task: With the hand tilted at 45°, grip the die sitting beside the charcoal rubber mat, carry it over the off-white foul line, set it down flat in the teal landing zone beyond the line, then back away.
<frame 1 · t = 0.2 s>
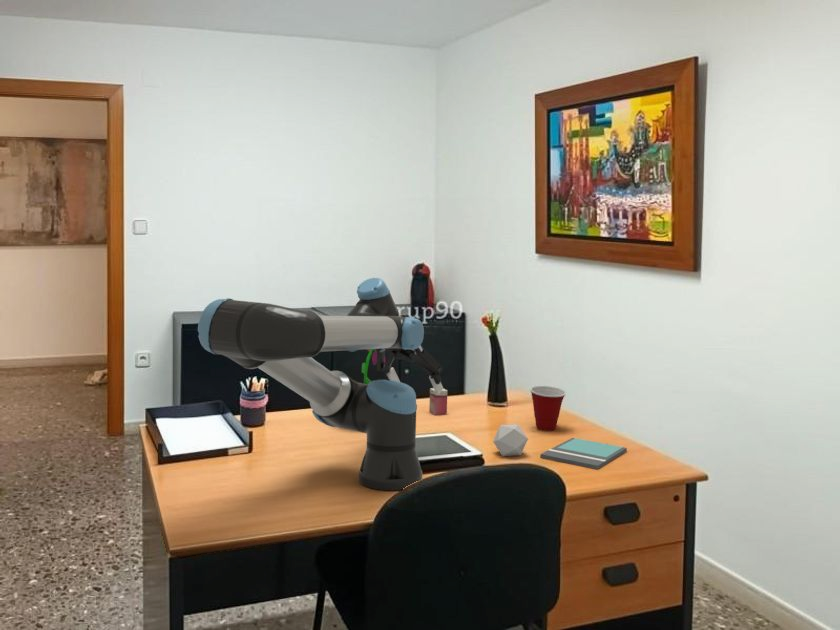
hand: (418, 389, 222), 15 cm above the table, tool tilted 35°, fingers open, 13 cm apart
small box: (438, 413, 260), on the table
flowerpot: (365, 425, 244), on the table
die: (509, 454, 216), on the table
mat: (584, 454, 217), on the table
plastic cup: (546, 429, 243), on the table
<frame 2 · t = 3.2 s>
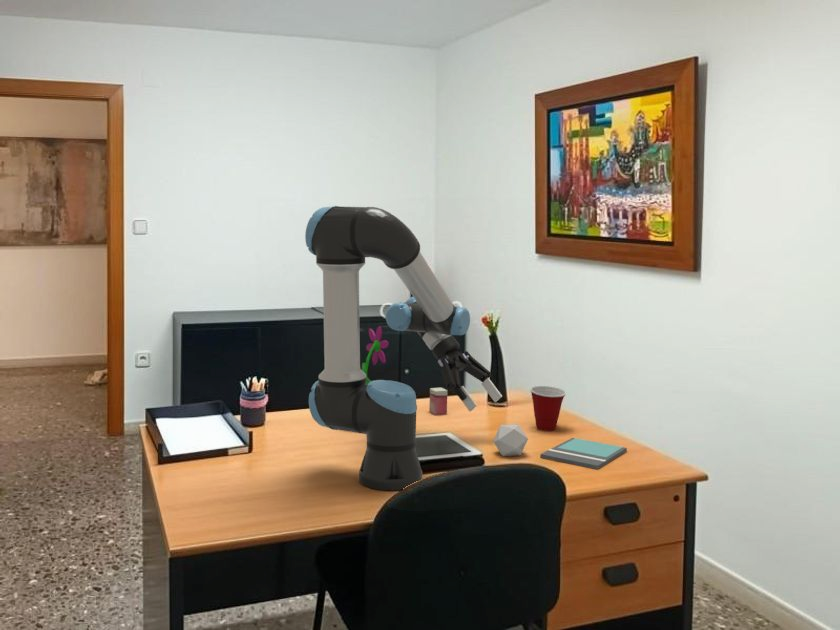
hand: (486, 403, 221), 12 cm above the table, tool tilted 45°, fingers open, 13 cm apart
nothing on the table moved.
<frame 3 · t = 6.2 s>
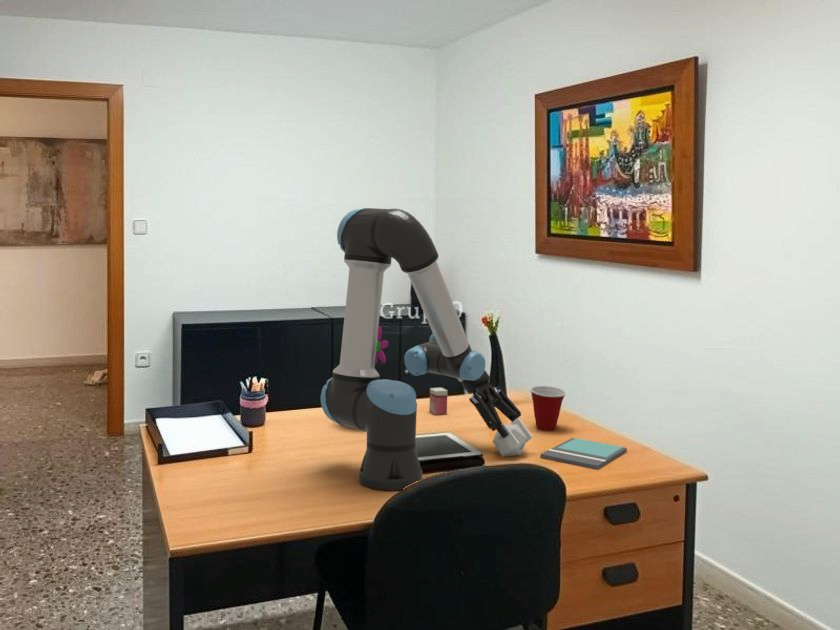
hand: (522, 442, 214), 4 cm above the table, tool tilted 45°, fingers closed on die, 7 cm apart
die: (509, 454, 216), on the table, touching gripper
everything else where it was.
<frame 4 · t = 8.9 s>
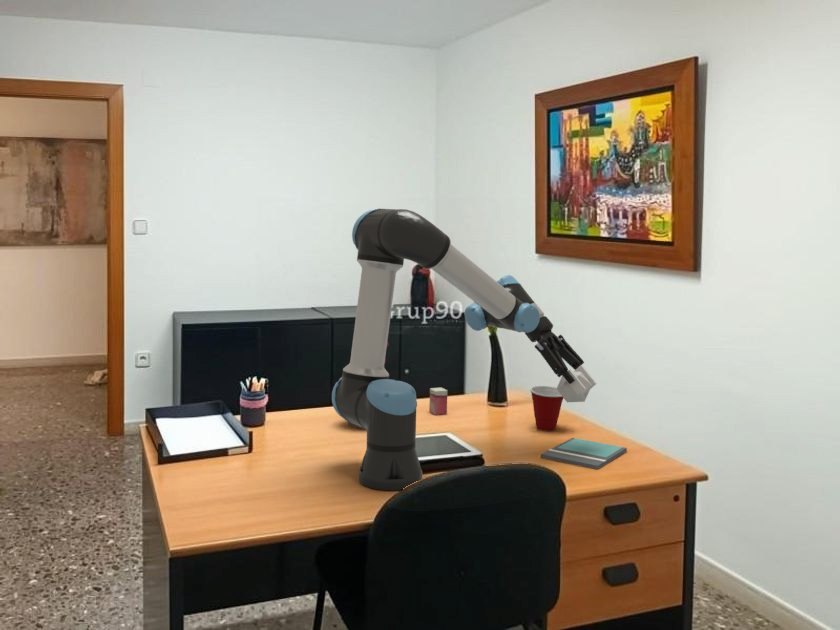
hand: (587, 389, 216), 18 cm above the table, tool tilted 45°, fingers closed on die, 7 cm apart
die: (573, 401, 218), point 14 cm above the table, touching gripper
everything else where it was.
when the fingers open (6 cm above the table, at t = 11.6 s): die drops 1 cm, resting on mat.
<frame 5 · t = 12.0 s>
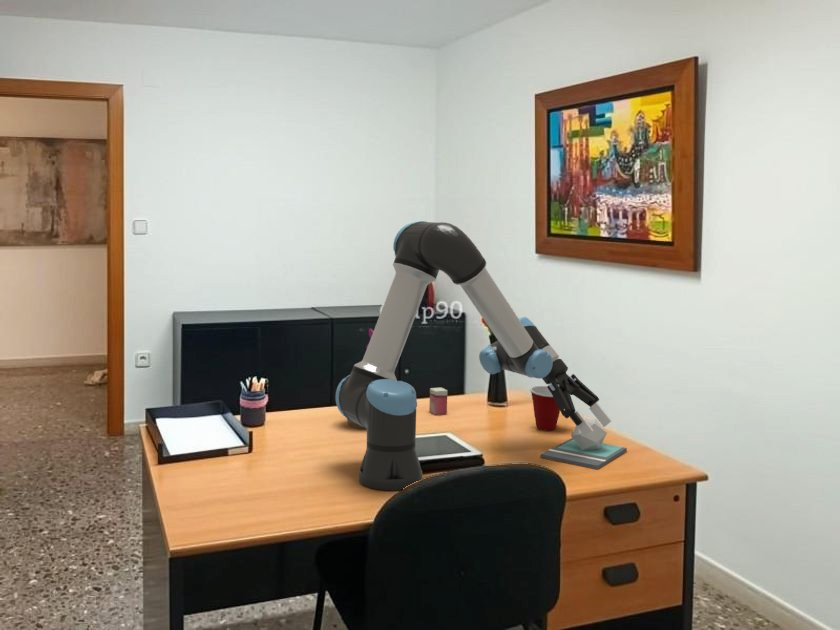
hand: (598, 428, 217), 7 cm above the table, tool tilted 45°, fingers open, 12 cm apart
die: (588, 449, 219), point 1 cm above the table, touching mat
everything else where it was.
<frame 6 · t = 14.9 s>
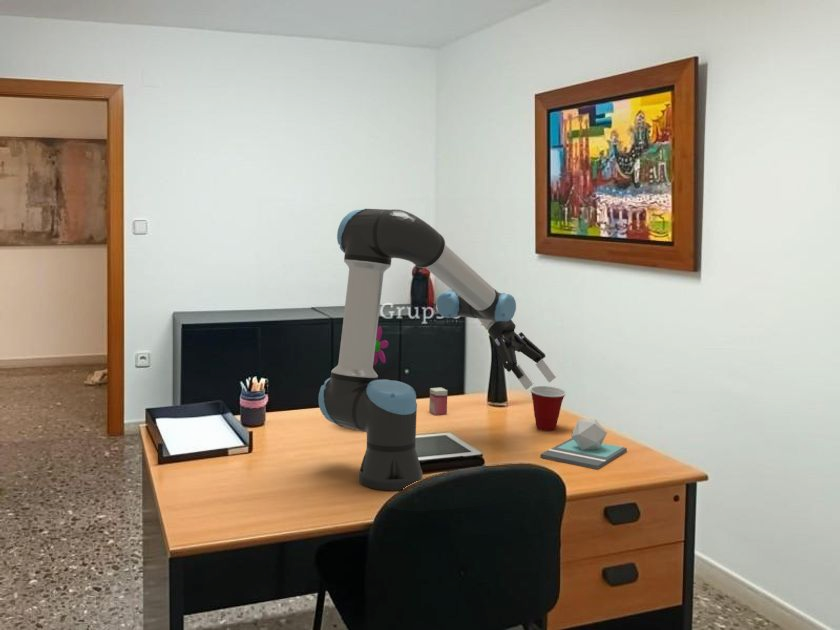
hand: (541, 383, 224), 17 cm above the table, tool tilted 45°, fingers open, 13 cm apart
nothing on the table moved.
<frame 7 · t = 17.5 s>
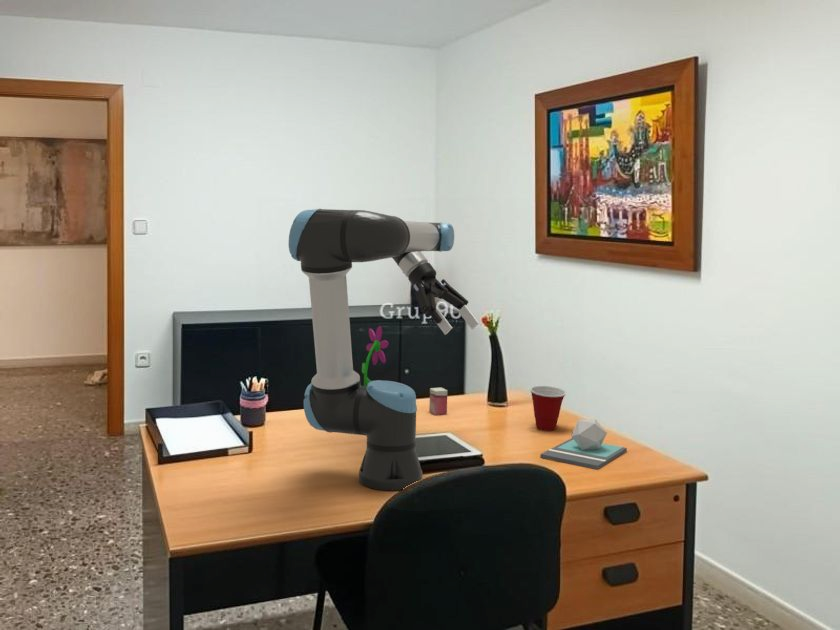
hand: (462, 328, 219), 33 cm above the table, tool tilted 45°, fingers open, 13 cm apart
nothing on the table moved.
at the end: die inside the target area on the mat (2.5 cm from its centre), point 0.9 cm above the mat's base; die tilted 2°; the gripper is holding nothing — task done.
